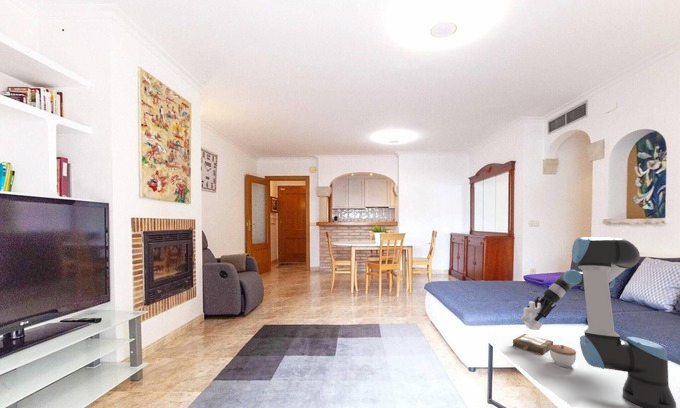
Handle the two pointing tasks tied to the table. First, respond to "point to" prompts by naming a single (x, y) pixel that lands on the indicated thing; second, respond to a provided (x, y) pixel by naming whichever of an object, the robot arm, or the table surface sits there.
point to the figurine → (532, 315)
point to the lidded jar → (563, 355)
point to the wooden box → (532, 344)
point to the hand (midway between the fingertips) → (526, 321)
